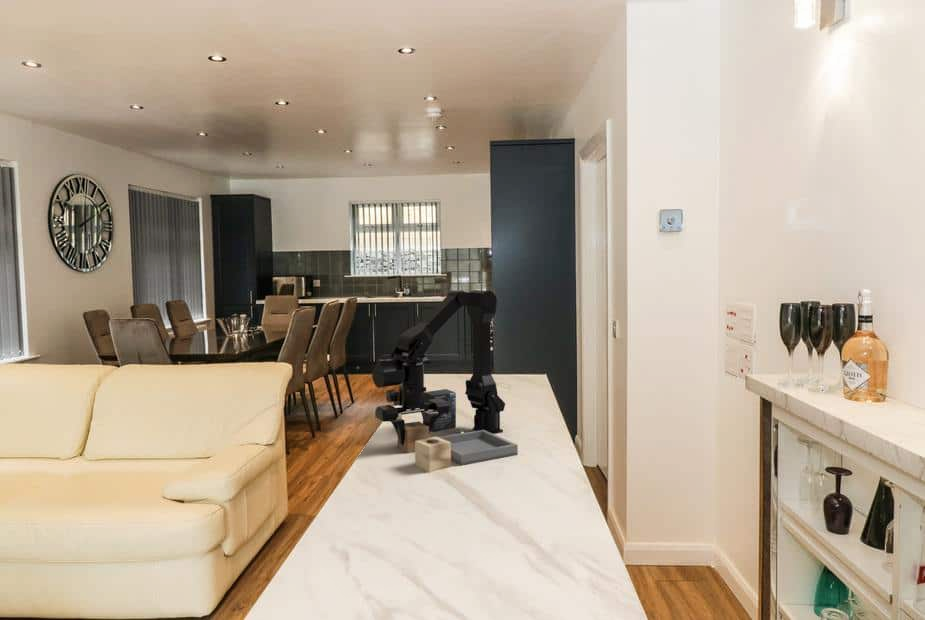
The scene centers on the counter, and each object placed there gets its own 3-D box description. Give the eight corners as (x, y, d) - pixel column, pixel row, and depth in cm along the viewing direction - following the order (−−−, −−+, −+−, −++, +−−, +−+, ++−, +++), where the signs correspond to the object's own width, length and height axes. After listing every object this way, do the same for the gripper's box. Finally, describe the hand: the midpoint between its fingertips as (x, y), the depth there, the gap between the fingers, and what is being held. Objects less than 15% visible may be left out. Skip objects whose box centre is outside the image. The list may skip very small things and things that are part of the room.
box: (433, 432, 178) (432, 395, 177) (423, 427, 182) (422, 391, 182) (456, 428, 182) (456, 391, 181) (446, 423, 187) (445, 388, 186)
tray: (483, 438, 171) (483, 429, 171) (517, 454, 157) (517, 444, 157) (430, 447, 163) (430, 438, 163) (461, 465, 149) (461, 455, 149)
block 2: (436, 460, 153) (435, 436, 152) (450, 467, 148) (450, 441, 148) (415, 465, 149) (415, 440, 149) (429, 472, 145) (429, 446, 144)
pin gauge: (461, 437, 172) (461, 428, 172) (465, 439, 170) (465, 430, 170) (423, 443, 167) (423, 434, 166) (427, 446, 165) (427, 437, 164)
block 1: (418, 443, 167) (418, 420, 166) (429, 449, 162) (428, 426, 161) (398, 447, 164) (397, 424, 163) (407, 453, 159) (407, 429, 158)
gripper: (431, 374, 173) (431, 430, 174) (366, 381, 164) (367, 440, 165) (450, 380, 163) (451, 440, 165) (383, 388, 154) (384, 451, 155)
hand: (413, 442), depth 163 cm, fingers closed on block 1, 6 cm apart
